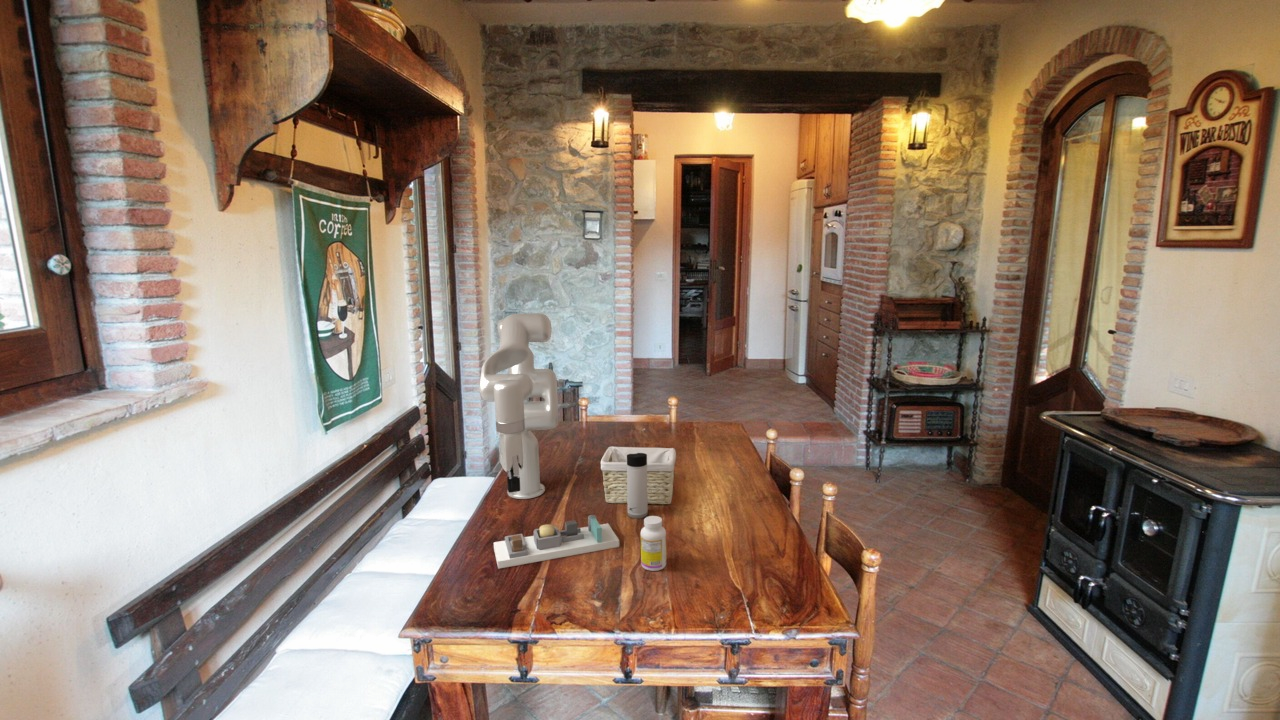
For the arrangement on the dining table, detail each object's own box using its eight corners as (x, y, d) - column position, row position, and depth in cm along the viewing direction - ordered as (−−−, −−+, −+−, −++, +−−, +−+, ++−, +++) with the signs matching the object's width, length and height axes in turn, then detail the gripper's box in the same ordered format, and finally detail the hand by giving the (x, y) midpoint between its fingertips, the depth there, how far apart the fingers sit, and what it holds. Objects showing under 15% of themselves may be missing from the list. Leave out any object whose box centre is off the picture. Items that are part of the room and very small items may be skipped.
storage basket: (600, 504, 193) (599, 461, 190) (608, 485, 209) (607, 445, 206) (673, 507, 190) (673, 463, 187) (676, 487, 206) (676, 447, 203)
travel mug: (630, 520, 181) (629, 458, 178) (625, 511, 188) (624, 450, 184) (650, 517, 183) (649, 455, 179) (644, 508, 189) (643, 448, 186)
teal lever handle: (587, 528, 171) (587, 515, 171) (595, 527, 172) (595, 514, 171) (595, 542, 163) (594, 528, 162) (603, 540, 164) (603, 527, 163)
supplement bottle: (651, 556, 160) (651, 511, 158) (671, 564, 156) (671, 518, 154) (635, 566, 155) (635, 520, 153) (655, 575, 151) (655, 527, 148)
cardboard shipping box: (512, 549, 160) (511, 535, 159) (521, 548, 160) (520, 534, 160) (513, 555, 157) (513, 541, 156) (522, 553, 158) (522, 539, 157)
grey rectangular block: (565, 534, 168) (564, 521, 167) (575, 533, 169) (575, 520, 168) (567, 538, 165) (566, 525, 165) (577, 536, 166) (577, 523, 166)
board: (493, 549, 165) (492, 527, 164) (608, 529, 176) (607, 509, 174) (498, 568, 155) (496, 545, 153) (619, 546, 165) (618, 525, 164)
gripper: (491, 420, 164) (495, 483, 167) (501, 435, 150) (505, 503, 154) (519, 417, 167) (522, 479, 170) (530, 432, 153) (533, 498, 157)
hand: (514, 490), depth 162 cm, fingers closed
